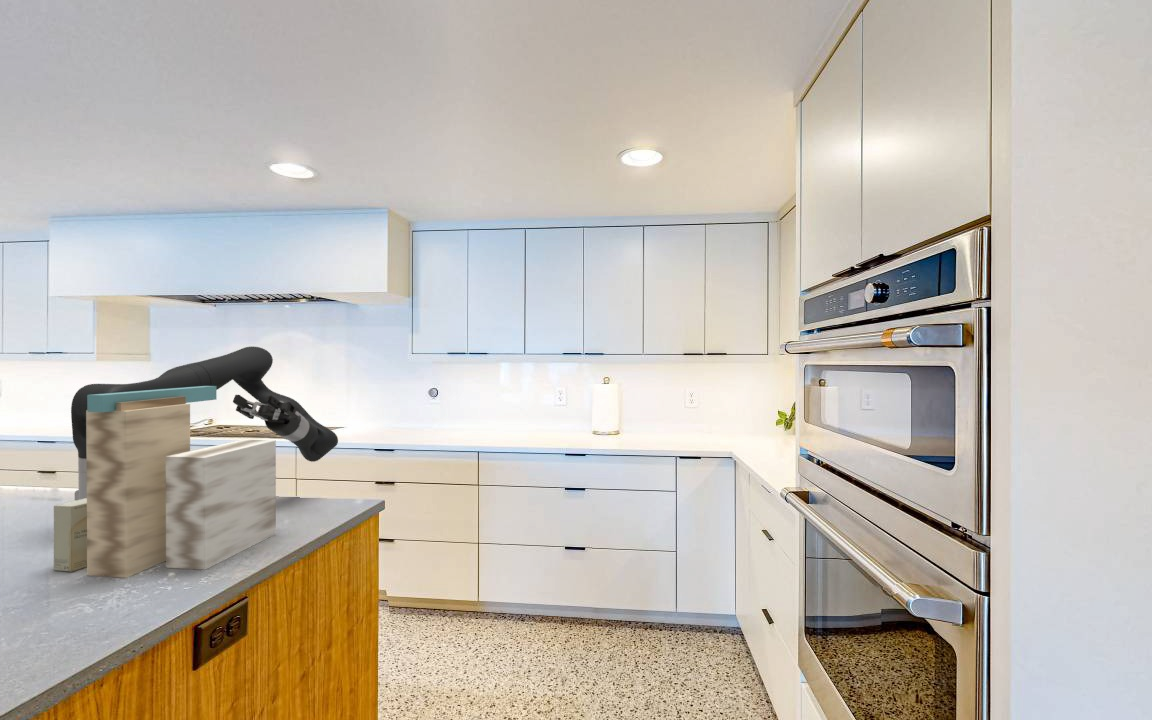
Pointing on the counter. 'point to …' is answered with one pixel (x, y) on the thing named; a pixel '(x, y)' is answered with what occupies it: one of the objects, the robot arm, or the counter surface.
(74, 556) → the skincare box
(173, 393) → the rod
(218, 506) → the stepped wooden blocks
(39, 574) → the counter surface
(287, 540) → the counter surface
